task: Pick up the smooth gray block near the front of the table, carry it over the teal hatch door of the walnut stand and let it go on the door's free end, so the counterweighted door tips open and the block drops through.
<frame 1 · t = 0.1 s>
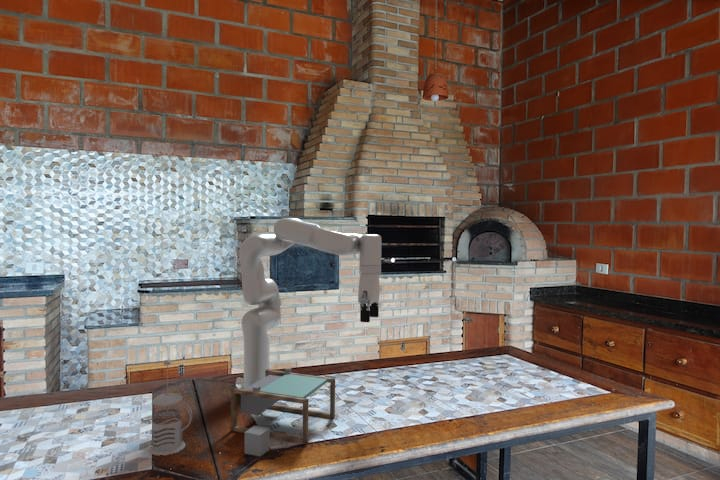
hand: (369, 319, 165), 31 cm above the table, tool pointing down, fingers open, 9 cm apart
smooth gray block: (257, 451, 134), on the table
hatch door: (284, 395, 152), point 9 cm above the table, hinge at 0.0°
french press: (170, 447, 135), on the table
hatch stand: (273, 421, 154), on the table
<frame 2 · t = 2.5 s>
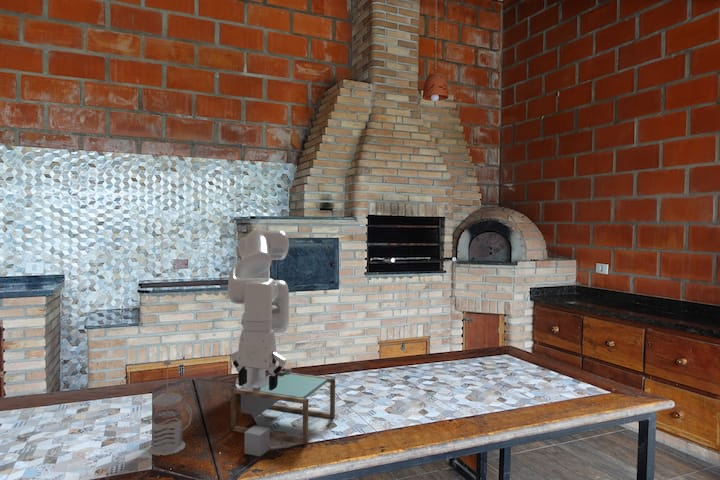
hand: (257, 386, 133), 18 cm above the table, tool pointing down, fingers open, 9 cm apart
nothing on the table moved.
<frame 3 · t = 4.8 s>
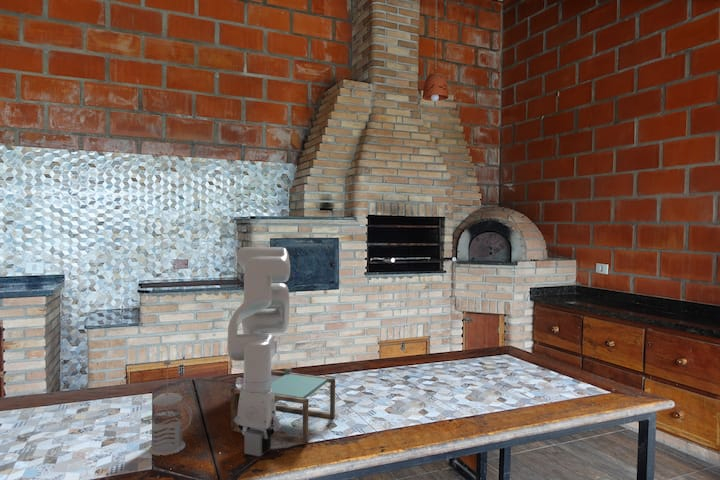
hand: (257, 448, 134), 1 cm above the table, tool pointing down, fingers closed on smooth gray block, 5 cm apart
smooth gray block: (257, 450, 134), on the table, touching gripper
everything else where it was.
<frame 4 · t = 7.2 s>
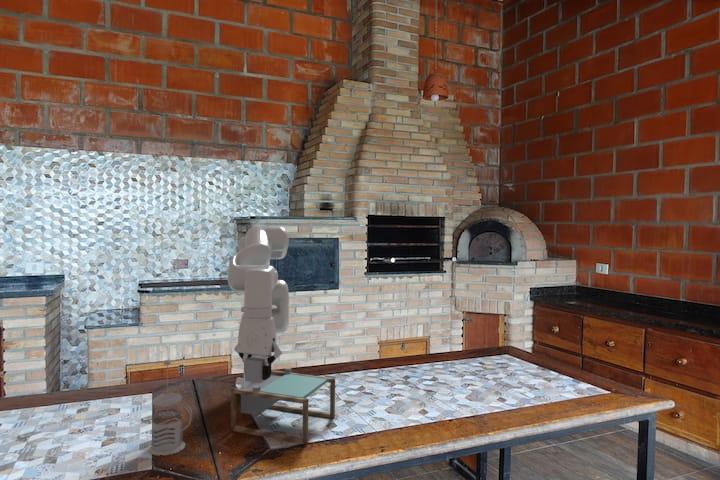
hand: (257, 376, 133), 21 cm above the table, tool pointing down, fingers closed on smooth gray block, 5 cm apart
smooth gray block: (257, 379, 133), point 20 cm above the table, touching gripper
everything else where it was.
when the fingers open (16 cm above the table, at t = 9.8 s): smooth gray block drops 11 cm and tips over, resting on hatch door.
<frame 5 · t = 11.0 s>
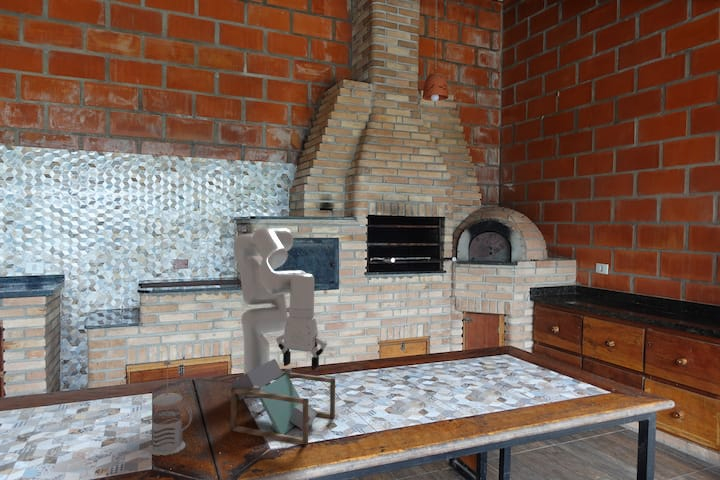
hand: (300, 366, 150), 19 cm above the table, tool pointing down, fingers open, 9 cm apart
smooth gray block: (295, 410, 151), point 5 cm above the table, tilted 114°, touching hatch door
hatch door: (270, 398, 154), point 7 cm above the table, hinge at -56.2°, touching smooth gray block
everything else where it was.
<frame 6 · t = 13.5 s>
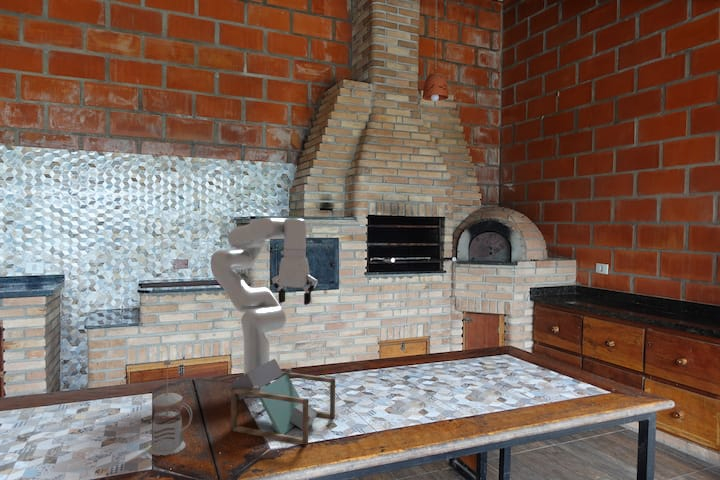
hand: (294, 303, 166), 36 cm above the table, tool pointing down, fingers open, 9 cm apart
nothing on the table moved.
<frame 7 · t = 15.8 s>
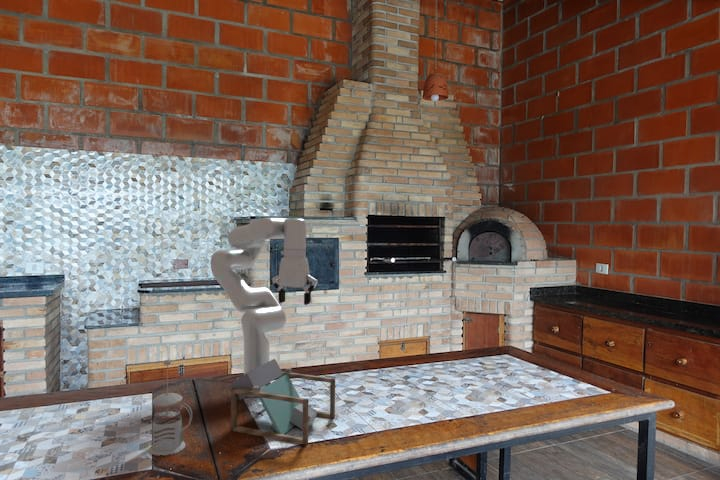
hand: (294, 303, 166), 36 cm above the table, tool pointing down, fingers open, 9 cm apart
nothing on the table moved.
at the end: smooth gray block point 4.5 cm above the table; smooth gray block inside the target area (1.8 cm from its centre), point 4.5 cm above the table; the gripper is holding nothing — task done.
